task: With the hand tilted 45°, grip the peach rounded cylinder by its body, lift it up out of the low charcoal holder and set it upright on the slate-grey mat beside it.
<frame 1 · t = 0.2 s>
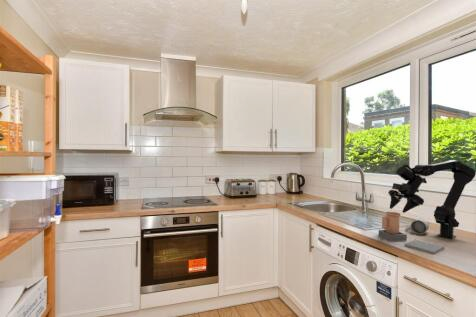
hand: (396, 210, 137), 14 cm above the worktop, tool tilted 35°, fingers open, 9 cm apart
mat: (424, 247, 123), on the worktop
holder: (392, 237, 136), on the worktop
ceramic mug: (416, 232, 147), on the worktop
peach rounded cylinder: (392, 238, 136), resting in holder
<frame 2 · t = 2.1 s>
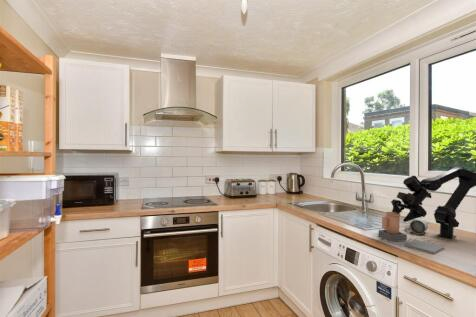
hand: (397, 219, 137), 10 cm above the worktop, tool tilted 45°, fingers open, 9 cm apart
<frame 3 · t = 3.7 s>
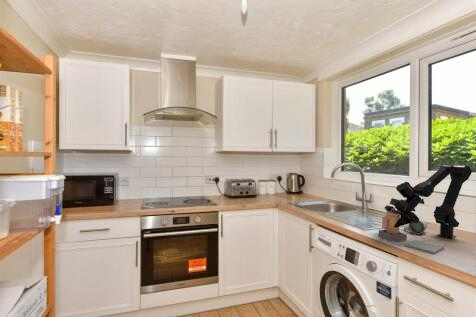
hand: (390, 225, 136), 7 cm above the worktop, tool tilted 45°, fingers closed on peach rounded cylinder, 6 cm apart
peach rounded cylinder: (392, 237, 136), resting in holder, touching gripper
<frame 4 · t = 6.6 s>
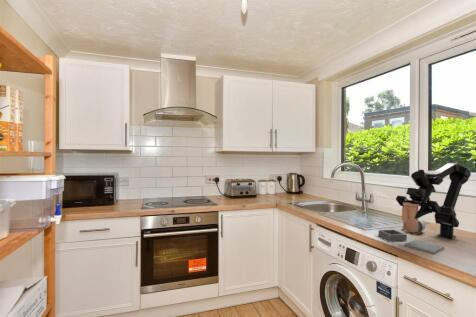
hand: (409, 216, 127), 13 cm above the worktop, tool tilted 45°, fingers closed on peach rounded cylinder, 6 cm apart
peach rounded cylinder: (410, 230, 128), point 7 cm above the worktop, touching gripper
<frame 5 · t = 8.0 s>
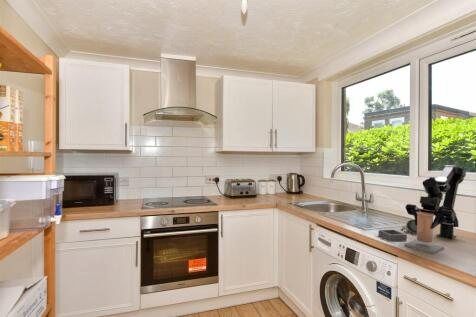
hand: (423, 226, 122), 10 cm above the worktop, tool tilted 45°, fingers closed on peach rounded cylinder, 6 cm apart
peach rounded cylinder: (424, 240, 123), point 3 cm above the worktop, touching gripper
when the fingers open (9 cm above the worktop, at t = 9.1 s): peach rounded cylinder drops 1 cm, resting on mat.
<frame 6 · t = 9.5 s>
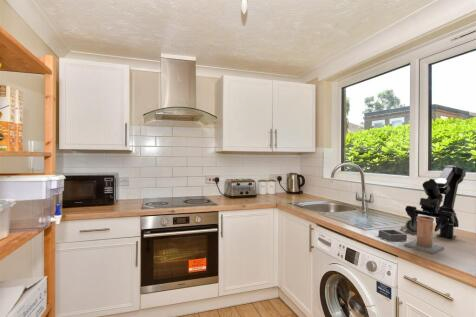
hand: (423, 228, 122), 9 cm above the worktop, tool tilted 45°, fingers open, 9 cm apart
peach rounded cylinder: (424, 245, 123), point 1 cm above the worktop, touching mat
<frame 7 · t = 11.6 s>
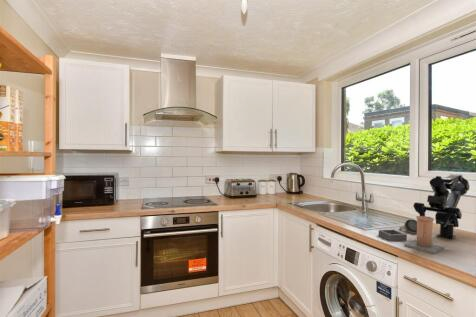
hand: (432, 224, 127), 10 cm above the worktop, tool tilted 40°, fingers open, 9 cm apart
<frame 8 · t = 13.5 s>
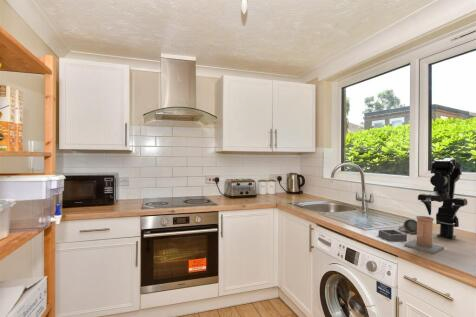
hand: (440, 216, 129), 13 cm above the worktop, tool pointing down, fingers open, 9 cm apart
at the end: peach rounded cylinder inside the target area on the mat (0.2 cm from its centre), point 1.0 cm above the mat's base; peach rounded cylinder tilted 0°; the gripper is holding nothing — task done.
